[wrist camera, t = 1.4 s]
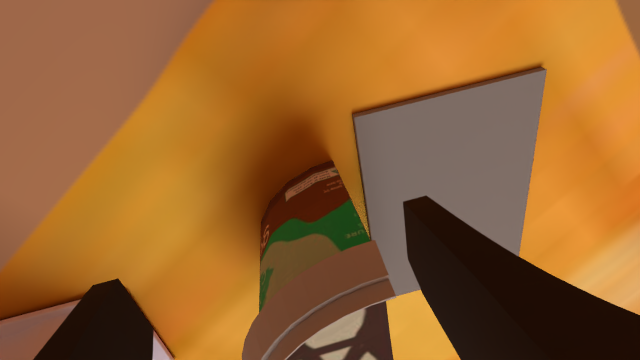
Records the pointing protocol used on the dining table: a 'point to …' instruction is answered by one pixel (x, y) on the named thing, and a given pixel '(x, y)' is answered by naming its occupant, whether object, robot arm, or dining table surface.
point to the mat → (450, 162)
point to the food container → (319, 277)
